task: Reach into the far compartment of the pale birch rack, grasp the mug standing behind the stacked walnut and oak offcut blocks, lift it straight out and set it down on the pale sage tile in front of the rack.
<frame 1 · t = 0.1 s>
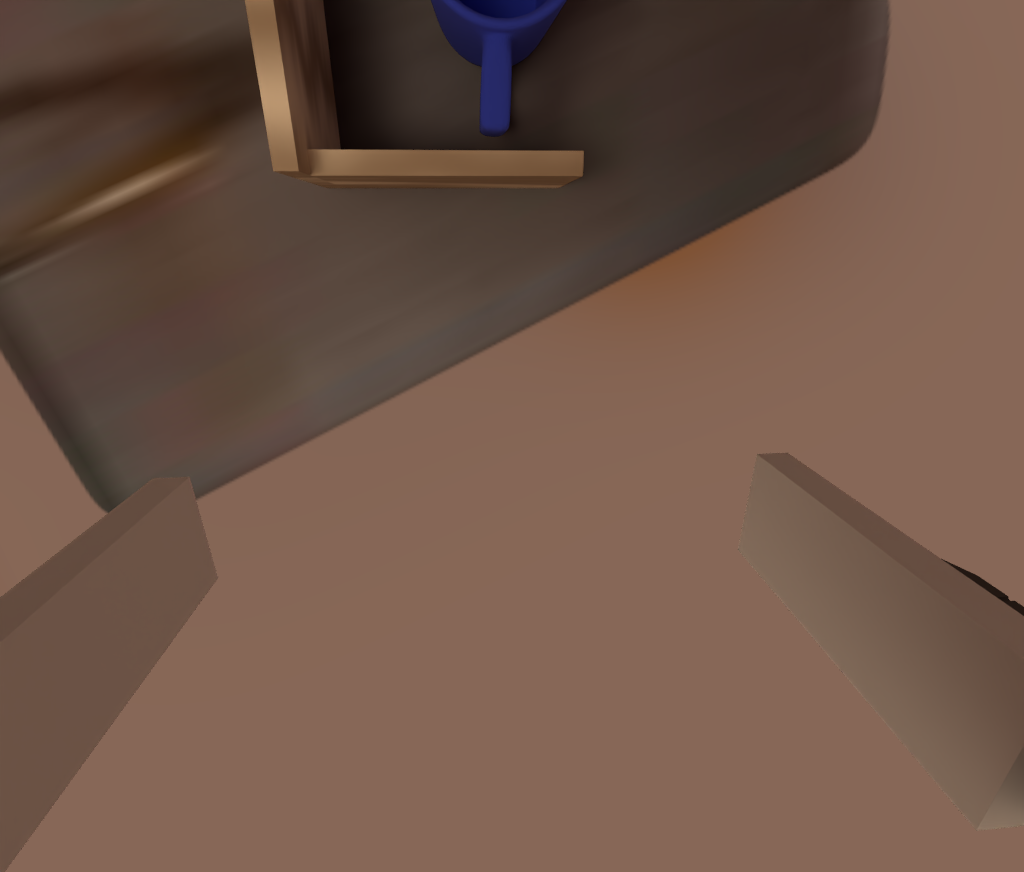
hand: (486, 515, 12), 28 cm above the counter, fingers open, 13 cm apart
mug: (491, 47, 31), on the counter
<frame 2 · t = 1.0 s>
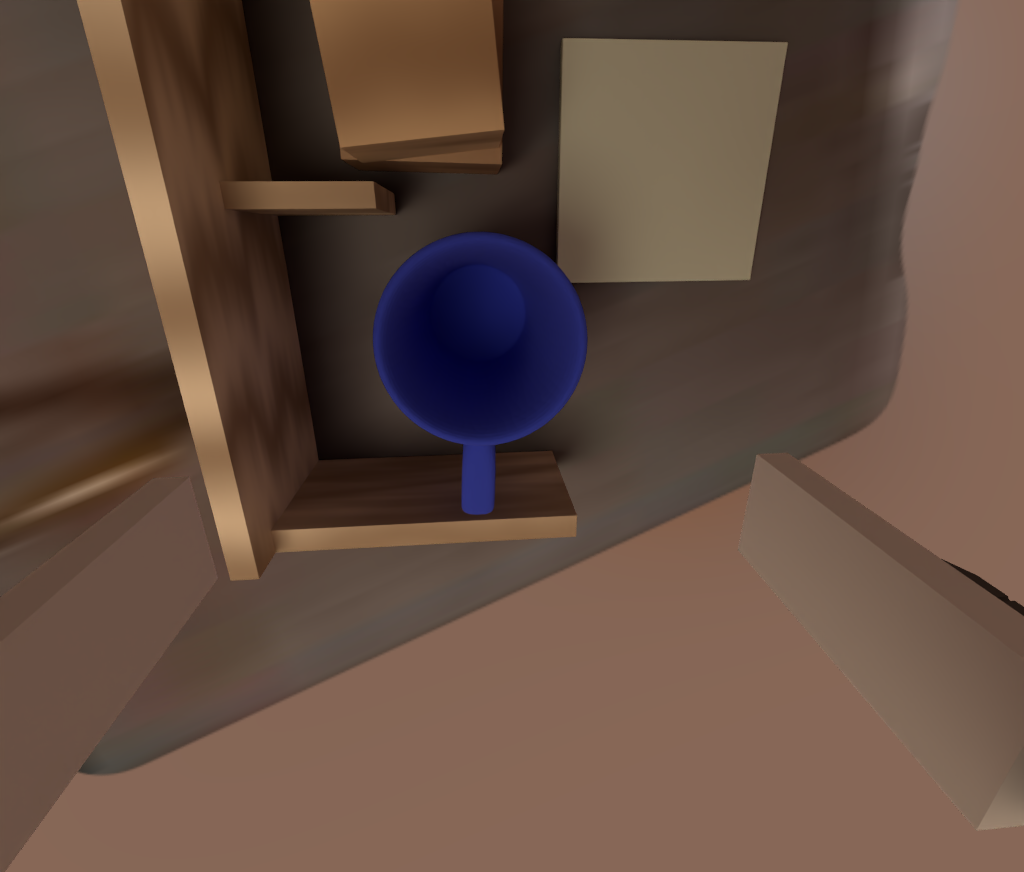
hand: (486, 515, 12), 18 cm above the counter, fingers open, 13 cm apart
rack: (408, 255, 27), on the counter
offcut oak: (420, 88, 21), point 4 cm above the counter, touching offcut walnut
offcut walnut: (426, 104, 25), on the counter, touching offcut oak
mug: (477, 345, 29), on the counter
sage tile: (661, 171, 26), on the counter
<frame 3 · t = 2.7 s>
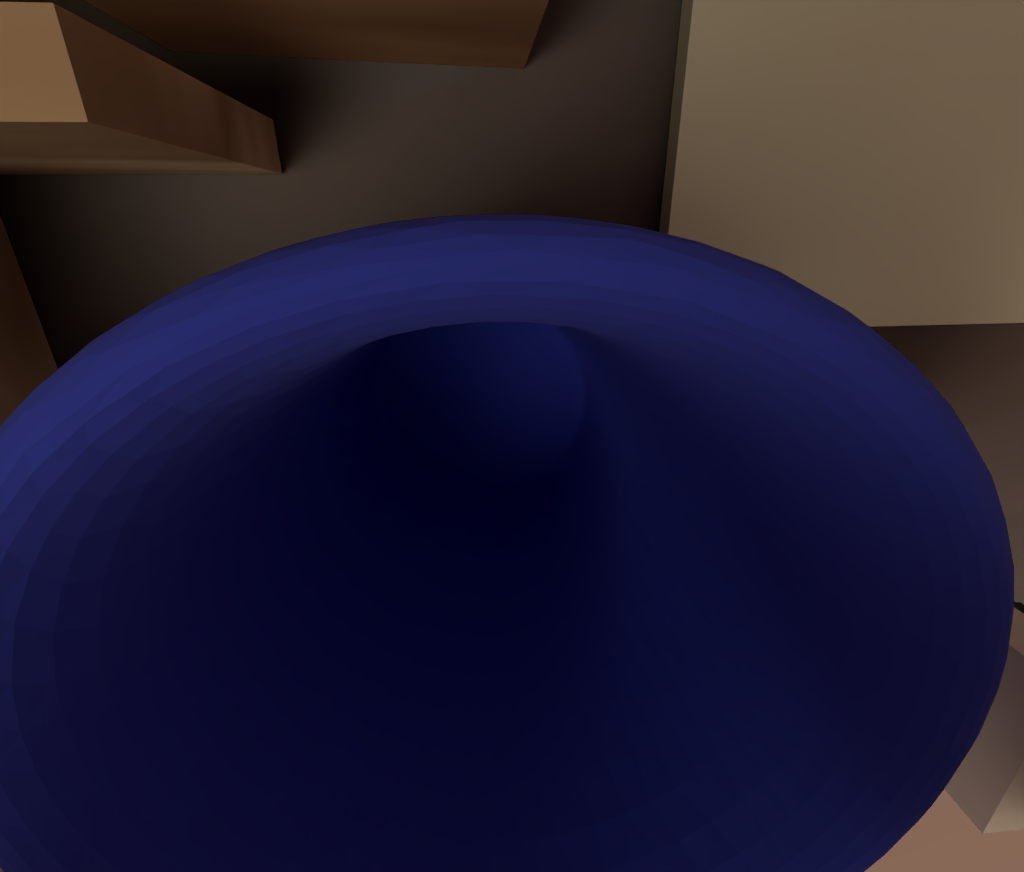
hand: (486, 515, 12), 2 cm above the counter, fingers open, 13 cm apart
rack: (320, 270, 12), on the counter
mug: (478, 454, 14), on the counter
sage tile: (917, 70, 11), on the counter
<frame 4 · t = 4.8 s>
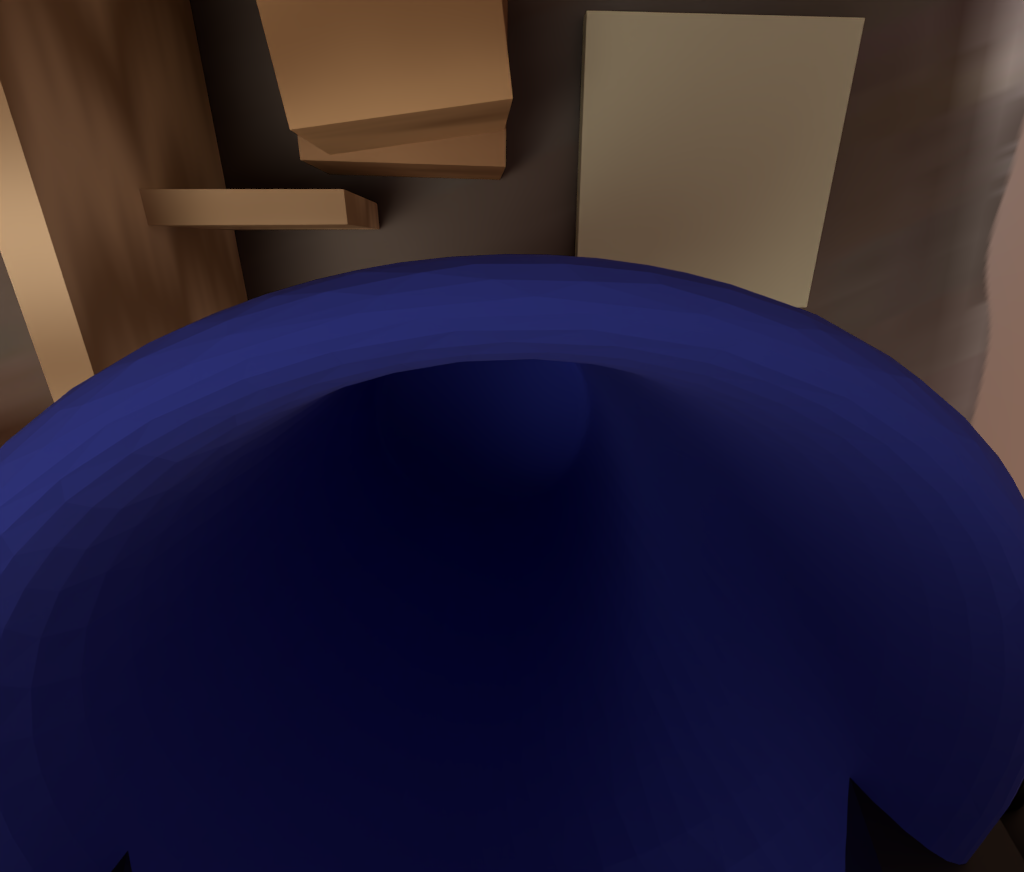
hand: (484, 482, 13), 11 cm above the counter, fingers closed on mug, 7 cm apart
rack: (395, 278, 22), on the counter
offcut oak: (401, 54, 16), point 4 cm above the counter, touching offcut walnut
offcut walnut: (412, 93, 20), on the counter, touching offcut oak
mug: (480, 469, 14), point 11 cm above the counter, touching gripper
sage tile: (703, 177, 22), on the counter
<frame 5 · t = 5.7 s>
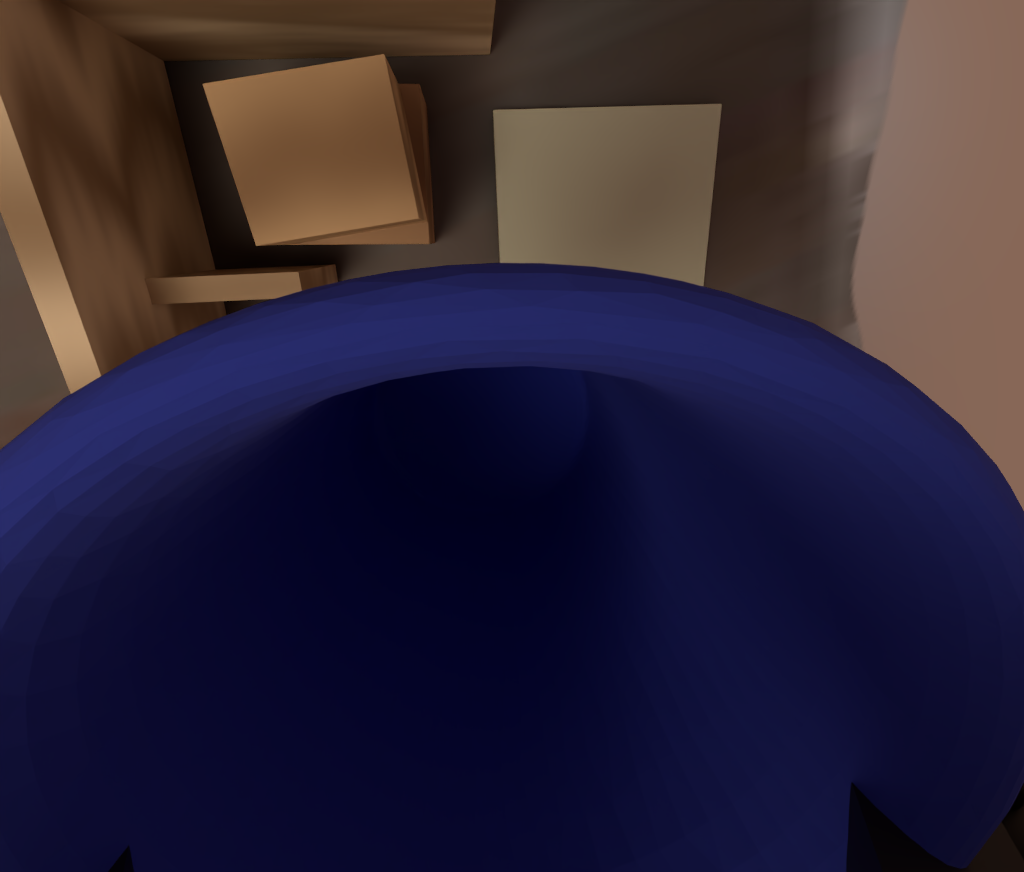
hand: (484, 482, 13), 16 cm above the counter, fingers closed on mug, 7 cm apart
rack: (354, 322, 27), on the counter
offcut oak: (343, 169, 21), point 4 cm above the counter, touching offcut walnut
offcut walnut: (360, 178, 25), on the counter, touching offcut oak
mug: (479, 471, 14), point 15 cm above the counter, touching gripper
sage tile: (602, 232, 26), on the counter
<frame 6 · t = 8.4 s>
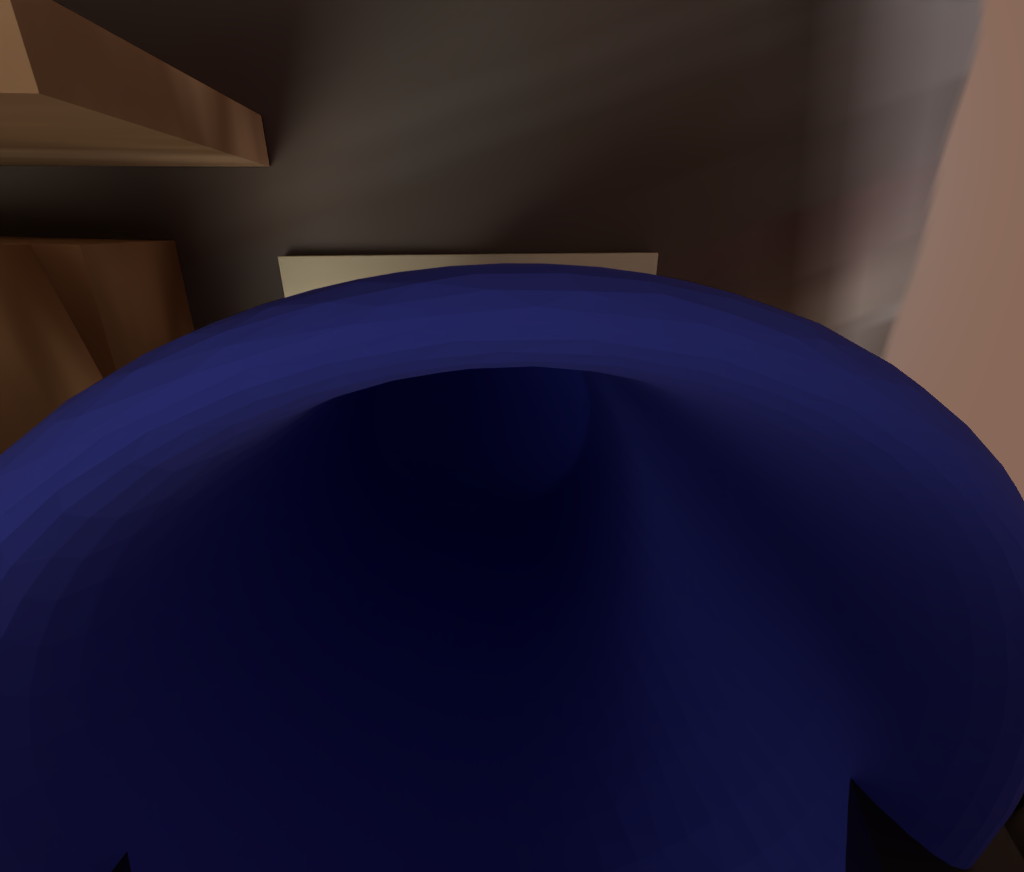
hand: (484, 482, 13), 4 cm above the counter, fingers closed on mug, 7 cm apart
rack: (100, 543, 18), on the counter
offcut walnut: (80, 342, 15), on the counter, touching offcut oak
mug: (480, 471, 14), point 4 cm above the counter, touching gripper
sage tile: (478, 424, 17), on the counter
when the fingers open (2 cm above the counter, at t = 9.2 s): mug drops 1 cm, resting on sage tile.
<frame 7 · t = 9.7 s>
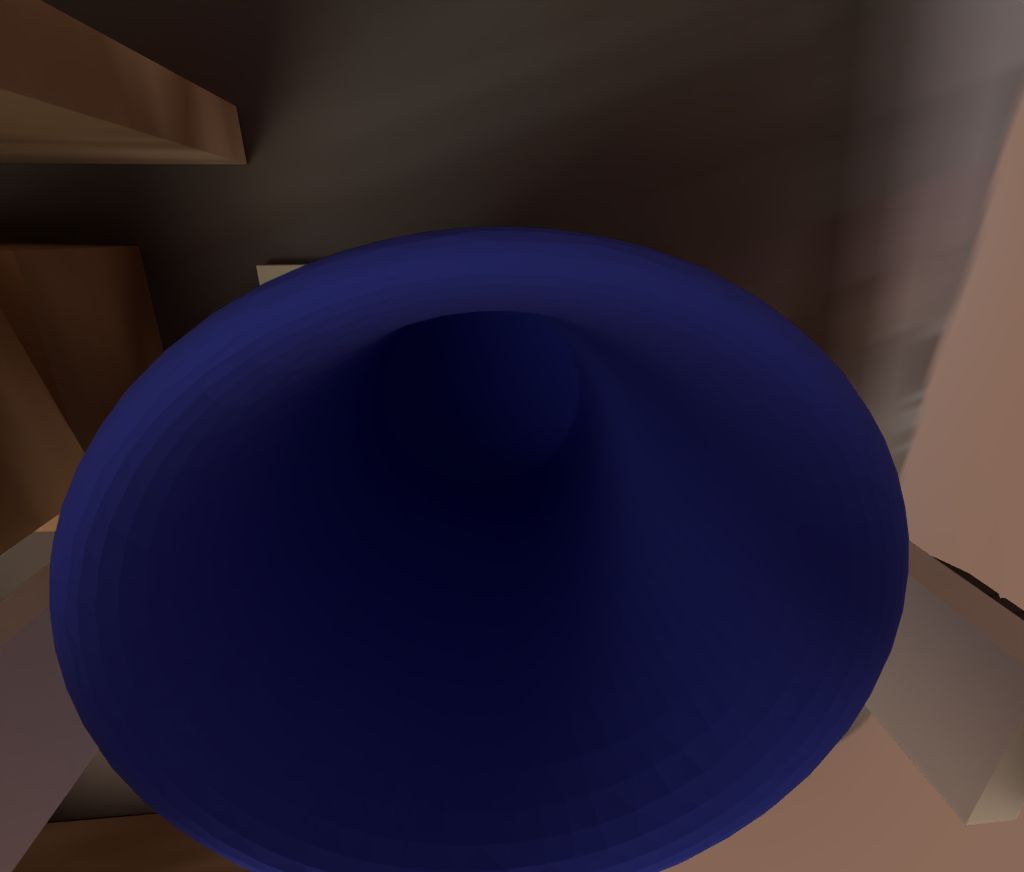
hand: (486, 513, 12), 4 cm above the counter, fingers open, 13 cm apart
rack: (65, 578, 16), on the counter
offcut walnut: (36, 359, 14), on the counter, touching offcut oak
mug: (479, 447, 15), resting on sage tile
sage tile: (482, 449, 15), on the counter
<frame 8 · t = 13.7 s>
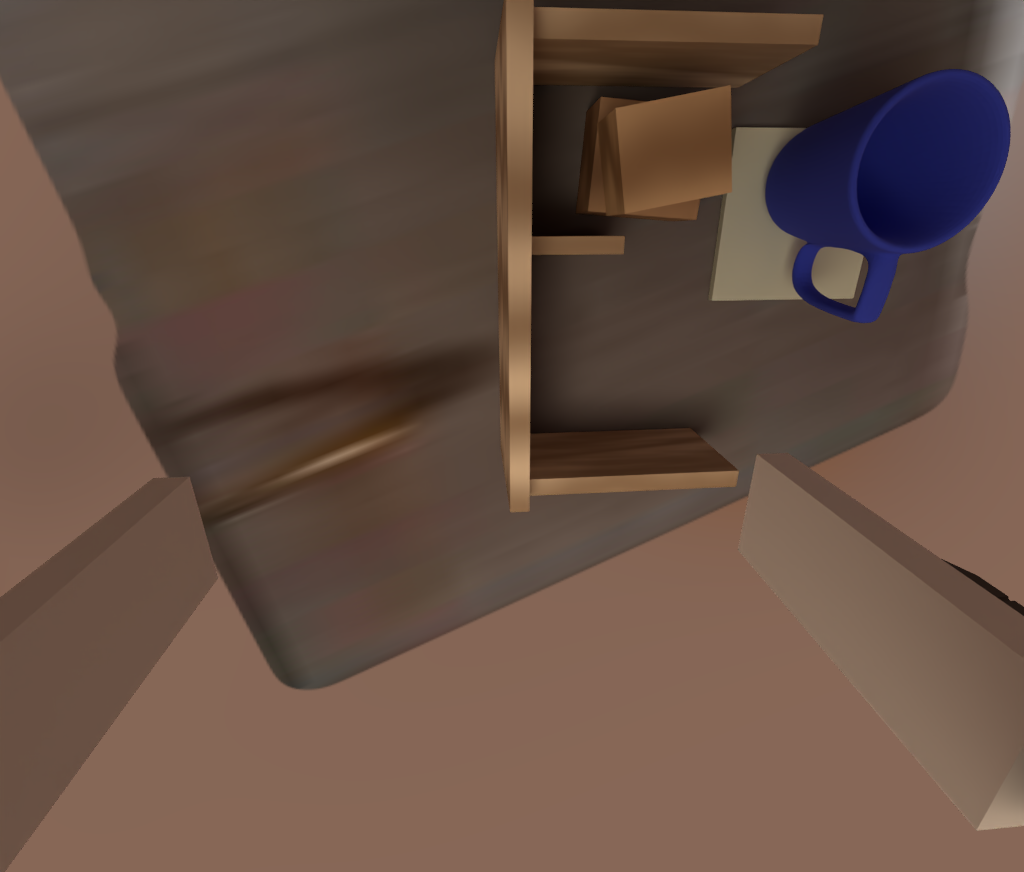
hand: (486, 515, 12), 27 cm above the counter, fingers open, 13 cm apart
rack: (604, 280, 36), on the counter
offcut oak: (650, 161, 30), point 4 cm above the counter, touching offcut walnut
offcut walnut: (630, 169, 34), on the counter, touching offcut oak
mug: (797, 215, 35), resting on sage tile
sage tile: (793, 219, 35), on the counter
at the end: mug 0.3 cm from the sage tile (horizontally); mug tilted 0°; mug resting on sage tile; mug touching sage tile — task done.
